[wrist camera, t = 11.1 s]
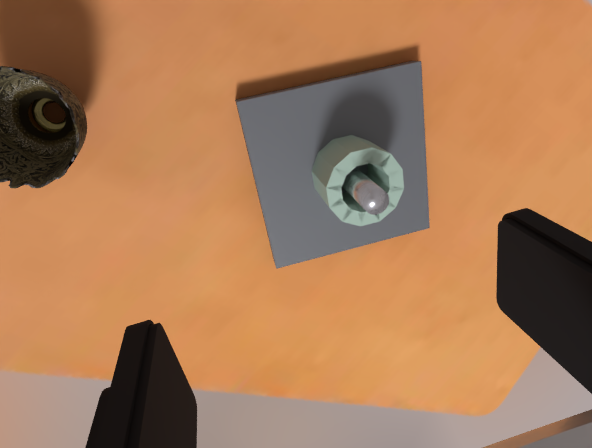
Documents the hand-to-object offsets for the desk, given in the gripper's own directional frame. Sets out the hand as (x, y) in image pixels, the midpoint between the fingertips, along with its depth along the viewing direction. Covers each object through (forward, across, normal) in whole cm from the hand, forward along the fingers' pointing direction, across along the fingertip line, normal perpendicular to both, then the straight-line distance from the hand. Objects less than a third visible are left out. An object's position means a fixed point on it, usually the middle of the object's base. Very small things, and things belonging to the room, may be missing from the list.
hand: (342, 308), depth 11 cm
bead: (+26, -8, +6) cm, 28 cm away
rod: (+26, -7, +6) cm, 27 cm away
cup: (+28, +14, -4) cm, 32 cm away
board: (+27, -7, +6) cm, 29 cm away
